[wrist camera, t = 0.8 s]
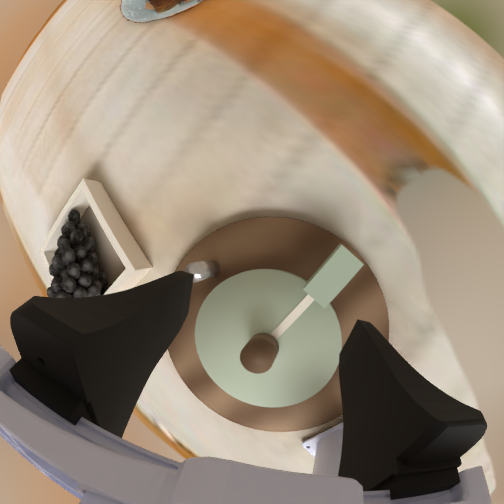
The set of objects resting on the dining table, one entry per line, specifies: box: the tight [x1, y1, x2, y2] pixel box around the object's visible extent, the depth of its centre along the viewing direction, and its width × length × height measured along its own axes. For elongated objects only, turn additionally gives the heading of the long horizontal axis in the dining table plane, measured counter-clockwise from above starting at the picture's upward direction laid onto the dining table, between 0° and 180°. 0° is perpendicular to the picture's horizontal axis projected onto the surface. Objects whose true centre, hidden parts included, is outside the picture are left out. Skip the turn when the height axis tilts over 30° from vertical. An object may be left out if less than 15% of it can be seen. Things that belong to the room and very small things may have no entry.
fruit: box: [47, 209, 108, 298], centre depth 31 cm, size 9×8×15 cm
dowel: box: [185, 259, 220, 282], centre depth 28 cm, size 2×2×5 cm
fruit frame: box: [40, 178, 153, 295], centre depth 33 cm, size 15×15×4 cm
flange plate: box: [195, 244, 364, 407], centre depth 25 cm, size 20×15×4 cm
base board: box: [168, 217, 389, 432], centre depth 26 cm, size 25×25×6 cm
